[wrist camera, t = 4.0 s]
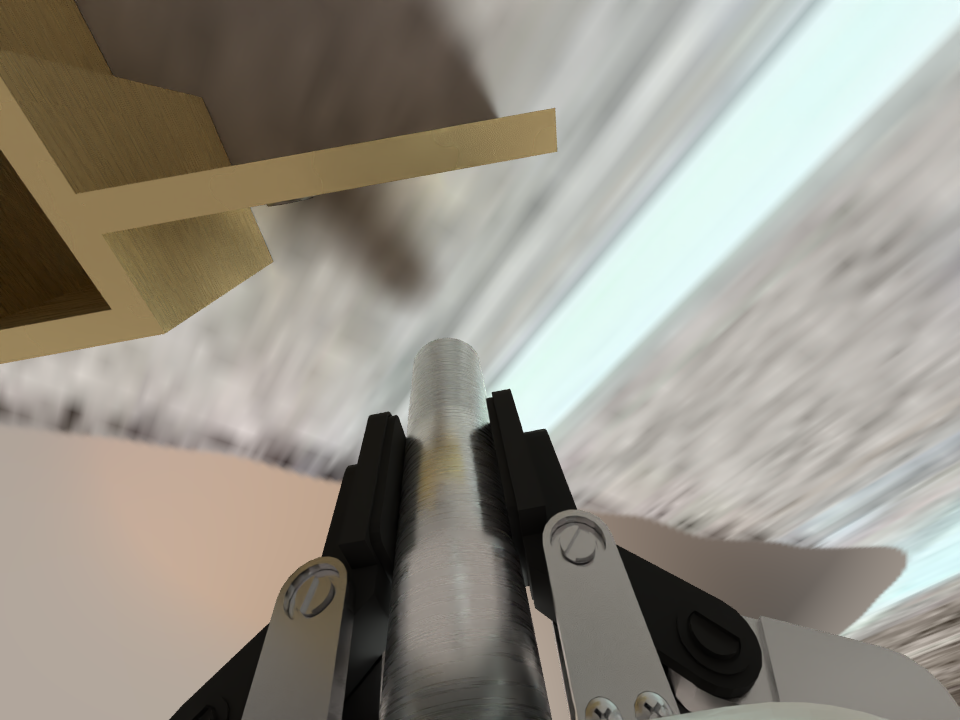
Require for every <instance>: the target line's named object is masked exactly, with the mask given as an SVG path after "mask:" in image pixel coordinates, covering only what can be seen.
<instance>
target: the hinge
mask: <svg viewBox="0 0 960 720" xmlns="http://www.w3.org/2000/svg"><path fill="white" fill-rule="evenodd" d="M552 152H557V138H556V116H555V108H552V109H546V110H541V111H535V112H530V113H524V114H519V115H513V116H507V117H502V118H496V119H491V120H485V121H480V122H474V123H468V124H463V125H457V126H452V127H446V128H441V129H435V130H429V131H424V132H418V133H413V134H407V135H402V136H396V137H390V138H385V139H379V140H374V141H368V142H363V143H357V144H351V145H346V146H340V147H335V148H329V149H324V150H318V151H312V152H307V153H301V154H296V155H290V156H285V157H279V158H273V159H268V160H262V161H257V162H251V163H246V164H240V165H234V166H231V163H230V161H229V159H228V156H227V154H226V152H225V149H224V147H223V145H222V143H221V140H220V138H219V136H218V133H217V131H216V129H215V126H214V124H213V122H212V120H211V117H210V115H209V113H208V110H207V108H206V106H205V103H204V101H203V99H202V97H198V96H194V95H190V94H185V93H181V92H177V91H173V90H169V89H164V88H160V87H156V86H152V85H148V84H143V83H139V82H135V81H131V80H127V79H122V78H118V77H114V76H113V75H112V73H111V71H110V69H109V67H108V65H107V63H106V61H105V59H104V57H103V55H102V53H101V51H100V50H99V48H98V46H97V44H96V42H95V40H94V38H93V36H92V34H91V32H90V30H89V28H88V26H87V25H86V23H85V21H84V19H83V17H82V15H81V13H80V11H79V9H78V7H77V5H76V3H75V1H74V0H0V364H3V363H8V362H14V361H19V360H25V359H30V358H35V357H41V356H46V355H52V354H57V353H63V352H68V351H73V350H79V349H84V348H90V347H95V346H100V345H106V344H111V343H117V342H122V341H128V340H133V339H138V338H144V337H149V336H155V335H160V334H165V333H167V332H168V331H170V330H171V329H173V328H174V327H176V326H177V325H179V324H180V323H182V322H183V321H185V320H186V319H188V318H189V317H191V316H192V315H194V314H195V313H197V312H198V311H200V310H201V309H203V308H204V307H206V306H207V305H209V304H210V303H212V302H213V301H215V300H216V299H218V298H219V297H221V296H222V295H224V294H225V293H227V292H228V291H230V290H231V289H233V288H234V287H236V286H237V285H239V284H240V283H242V282H243V281H245V280H246V279H248V278H250V277H251V276H253V275H254V274H256V273H257V272H259V271H260V270H262V269H263V268H265V267H266V266H268V265H269V264H271V263H272V262H273V260H272V258H271V255H270V253H269V251H268V248H267V246H266V244H265V242H264V239H263V237H262V235H261V232H260V230H259V228H258V225H257V223H256V221H255V218H254V216H253V214H252V212H251V209H250V207H254V206H259V205H265V204H267V206H276V205H282V204H287V203H293V202H297V201H302V200H306V199H310V198H313V196H314V195H320V194H325V193H331V192H336V191H342V190H348V189H353V188H359V187H364V186H370V185H375V184H381V183H386V182H392V181H397V180H403V179H408V178H414V177H419V176H425V175H430V174H436V173H441V172H447V171H452V170H458V169H464V168H469V167H475V166H480V165H486V164H491V163H497V162H502V161H508V160H513V159H519V158H524V157H530V156H535V155H541V154H546V153H552Z"/></svg>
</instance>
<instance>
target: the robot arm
mask: <svg viewBox="0 0 960 720" xmlns="http://www.w3.org/2000/svg"><path fill="white" fill-rule="evenodd" d="M486 404H487V409H488V415H489V420H490V426H491V431H492V436H493V441H494V446H495V452H496V457H497V462H498V467H499V472H500V478H501V483H502V488H503V493H504V498H505V504H506V509H507V514H508V519H509V524H510V530H511V535H512V540H513V544H514V545H515V547H516V549H517V550H518V554H519V558H520V563H521V568H522V573H523V578H524V583H525V587H526V586H530V591H531V596H532V599H533V600H534V605H535V608H536V609H537V610H538V611H540V612H541V613H543V614H544V615H545V616H547V617H548V618H549V619H551V621H552V626H553V632H554V637H555V642H556V647H557V653H558V658H559V664H560V669H561V674H562V680H563V684H564V690H565V695H566V701H567V706H568V712H569V717H570V720H960V708H959V706H958V704H957V703H956V702H955V700H954V699H953V697H952V696H951V695H950V693H949V692H948V690H947V689H946V687H945V686H944V685H943V684H942V683H941V682H939V681H938V680H937V679H936V678H935V677H934V676H933V675H932V674H931V673H930V672H929V671H928V670H927V669H925V668H924V667H922V666H921V665H919V664H918V663H916V662H915V661H913V660H912V659H910V658H909V657H907V656H905V655H903V654H901V653H898V652H895V651H893V650H890V649H888V648H885V647H881V646H877V645H874V644H870V643H866V642H862V641H858V640H854V639H850V638H846V637H842V636H838V635H834V634H830V633H826V632H822V631H818V630H814V629H811V628H807V627H802V626H799V625H795V624H791V623H787V622H783V621H779V620H775V619H771V618H767V617H764V616H760V618H759V620H756V619H752V618H748V617H744V616H741V615H740V614H739V613H738V612H737V611H736V610H735V609H733V608H731V607H730V606H729V605H727V604H726V603H724V602H723V601H721V600H720V599H718V598H716V597H714V596H712V595H710V594H708V593H706V592H705V591H702V590H701V589H699V588H697V587H695V586H693V585H691V584H689V583H688V582H686V581H684V580H682V579H680V578H678V577H676V576H674V575H673V574H671V573H669V572H667V571H665V570H663V569H661V568H659V567H658V566H656V565H654V564H652V563H650V562H648V561H646V560H644V559H643V558H640V557H639V556H637V555H635V554H633V553H631V552H629V551H627V550H625V549H624V548H622V547H619V546H618V545H616V544H615V541H614V539H613V536H612V534H611V532H610V530H609V529H608V527H607V525H606V524H605V523H604V522H603V521H602V520H601V519H600V518H598V517H597V516H595V515H593V514H591V513H590V512H586V511H582V510H577V508H576V505H575V503H574V500H573V497H572V495H571V492H570V490H569V487H568V484H567V482H566V479H565V477H564V474H563V471H562V469H561V466H560V463H559V461H558V458H557V456H556V453H555V450H554V448H553V445H552V443H551V440H550V437H549V435H548V433H547V430H546V429H541V430H535V431H530V432H525V433H523V430H522V426H521V423H520V420H519V416H518V413H517V410H516V406H515V403H514V400H513V396H512V393H511V390H510V389H507V390H501V391H496V392H492V397H491V398H486ZM405 447H406V437H405V434H404V431H403V428H402V425H401V423H400V420H399V417H398V416H397V415H395V416H392V415H391V413H390V412H384V413H379V414H373V415H370V416H369V418H368V421H367V426H366V430H365V434H364V438H363V442H362V446H361V450H360V455H359V459H358V463H357V464H355V465H350V466H348V467H347V468H346V471H345V473H344V477H343V480H342V484H341V488H340V492H339V495H338V499H337V502H336V506H335V510H334V513H333V517H332V521H331V524H330V528H329V532H328V535H327V539H326V543H325V546H324V550H323V554H322V557H319V558H316V559H314V560H311V561H309V562H307V563H306V564H304V565H303V566H301V567H300V568H298V569H297V570H296V571H295V572H294V573H293V574H292V575H291V576H290V577H289V578H288V580H287V581H286V582H285V584H284V585H283V587H282V588H281V590H280V593H279V595H278V597H277V600H276V603H275V607H274V610H273V614H272V617H271V620H270V623H269V624H268V625H267V626H265V627H264V628H263V629H262V630H261V631H260V632H259V633H258V634H257V635H256V636H255V637H254V638H253V639H252V640H251V641H250V642H249V643H247V644H246V645H245V646H244V647H243V648H242V649H241V650H240V651H239V652H238V653H237V654H236V655H235V656H234V657H233V658H232V659H231V660H230V661H229V662H228V663H226V664H225V665H224V666H223V667H222V668H221V669H220V670H219V671H218V672H217V673H216V674H215V675H214V676H213V677H212V678H211V679H210V680H209V681H207V682H206V683H205V685H203V686H202V687H201V688H200V689H199V690H198V691H197V692H196V693H195V694H194V695H193V696H192V697H191V698H190V699H189V700H188V701H186V702H185V703H184V704H183V705H182V706H181V707H180V709H179V710H178V711H177V712H176V713H175V714H174V715H173V716H172V717H171V719H170V720H379V714H380V703H381V693H382V683H383V673H384V662H385V652H386V642H387V632H388V621H389V611H390V601H391V591H392V580H393V570H394V560H395V550H396V539H397V529H398V519H399V509H400V498H401V488H402V478H403V468H404V457H405Z"/></svg>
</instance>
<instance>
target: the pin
mask: <svg viewBox="0 0 960 720" xmlns="http://www.w3.org/2000/svg"><path fill="white" fill-rule="evenodd" d="M486 398H487V394H486V389H485V384H484V379H483V375H482V370H481V365H480V360H479V357H478V355H477V353H476V351H475V350H474V349H473V348H472V347H471V346H470V345H468V344H467V343H465V342H463V341H461V340H458V339H453V338H442V339H437V340H434V341H431V342H429V343H428V344H426V345H425V346H423V347H422V348H421V349H420V351H419V352H418V353H417V355H416V357H415V360H414V365H413V375H412V385H411V396H410V406H409V416H408V426H407V437H406V447H405V457H404V468H403V478H402V488H401V498H400V509H399V519H398V529H397V539H396V550H395V560H394V570H393V580H392V591H391V601H390V611H389V621H388V632H387V642H386V652H385V662H384V673H383V683H382V693H381V703H380V714H379V720H552V718H551V712H550V707H549V702H548V697H547V692H546V687H545V682H544V677H543V673H542V667H541V662H540V658H539V653H538V648H537V642H536V638H535V633H534V627H533V623H532V618H531V613H530V608H529V603H528V598H527V593H526V588H525V583H524V578H523V573H522V568H521V563H520V558H519V554H518V550H517V549H516V547H515V545H514V544H513V540H512V535H511V530H510V524H509V519H508V514H507V509H506V504H505V498H504V493H503V488H502V483H501V478H500V472H499V467H498V462H497V457H496V452H495V446H494V441H493V436H492V431H491V426H490V420H489V415H488V409H487V404H486Z"/></svg>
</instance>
